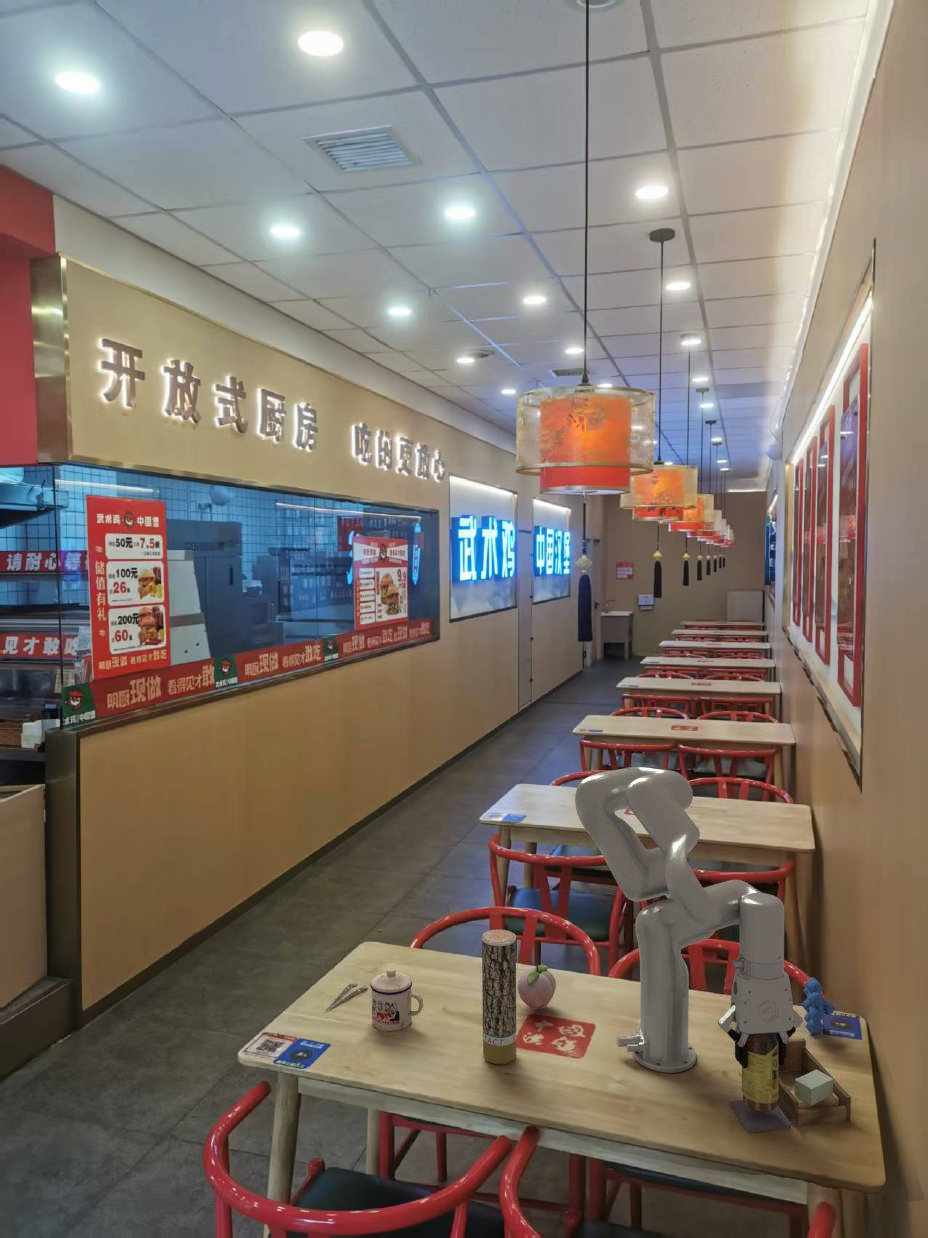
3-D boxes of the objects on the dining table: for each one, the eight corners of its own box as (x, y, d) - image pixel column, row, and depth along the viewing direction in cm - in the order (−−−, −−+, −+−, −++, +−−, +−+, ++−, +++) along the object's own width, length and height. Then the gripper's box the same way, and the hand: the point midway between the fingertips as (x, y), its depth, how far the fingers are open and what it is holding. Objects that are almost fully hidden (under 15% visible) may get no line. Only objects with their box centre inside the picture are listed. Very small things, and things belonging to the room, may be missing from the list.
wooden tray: (793, 1126, 156) (794, 1093, 156) (751, 1071, 173) (752, 1042, 173) (850, 1121, 157) (851, 1089, 157) (803, 1067, 174) (803, 1038, 174)
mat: (747, 1132, 155) (747, 1128, 155) (729, 1104, 163) (729, 1101, 163) (791, 1128, 156) (791, 1125, 156) (770, 1101, 164) (770, 1098, 164)
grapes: (839, 1050, 180) (840, 993, 180) (804, 1046, 182) (805, 989, 181) (830, 1022, 192) (832, 968, 191) (797, 1018, 193) (798, 964, 192)
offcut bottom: (797, 1122, 158) (797, 1103, 158) (787, 1110, 161) (787, 1091, 161) (838, 1117, 159) (838, 1098, 159) (827, 1105, 163) (827, 1087, 162)
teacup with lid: (363, 1028, 191) (362, 975, 190) (382, 1008, 199) (381, 957, 198) (414, 1038, 186) (413, 984, 186) (431, 1017, 195) (430, 966, 194)
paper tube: (498, 1043, 184) (498, 926, 182) (523, 1056, 179) (522, 936, 178) (475, 1056, 179) (475, 936, 178) (500, 1070, 174) (499, 946, 173)
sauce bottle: (780, 1116, 155) (782, 1006, 154) (743, 1112, 156) (744, 1003, 155) (775, 1094, 162) (776, 988, 160) (739, 1090, 163) (740, 985, 162)
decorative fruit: (524, 996, 204) (524, 954, 203) (559, 1002, 201) (559, 959, 200) (512, 1015, 195) (511, 971, 195) (547, 1022, 192) (547, 977, 192)
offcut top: (811, 1105, 157) (811, 1089, 157) (794, 1095, 160) (794, 1079, 160) (832, 1094, 160) (833, 1078, 160) (816, 1085, 163) (816, 1069, 163)
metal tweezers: (353, 986, 211) (352, 978, 211) (369, 990, 209) (368, 982, 209) (306, 1024, 196) (306, 1016, 196) (323, 1029, 194) (323, 1021, 193)
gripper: (723, 977, 153) (722, 1078, 154) (818, 971, 155) (816, 1071, 156) (706, 958, 160) (705, 1054, 161) (797, 953, 162) (795, 1048, 163)
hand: (760, 1061), depth 159 cm, fingers closed on sauce bottle, 6 cm apart
